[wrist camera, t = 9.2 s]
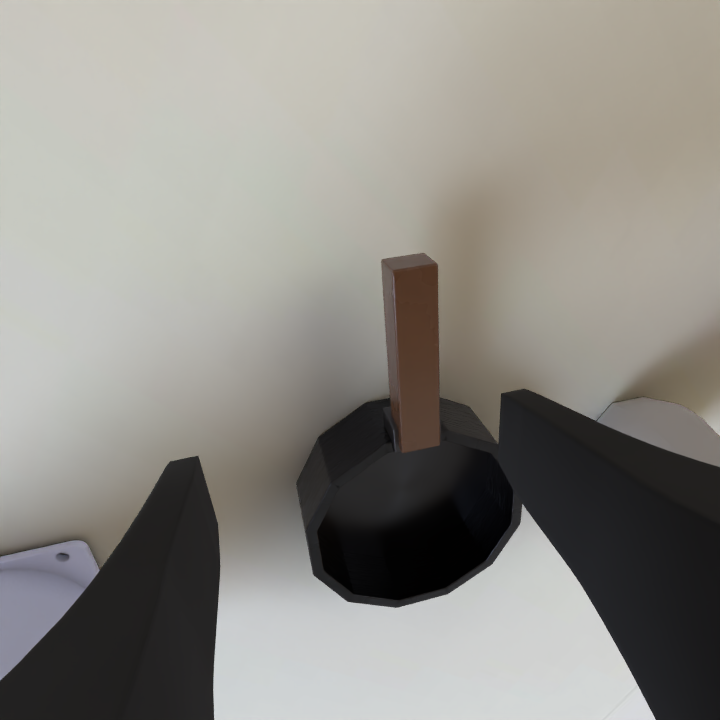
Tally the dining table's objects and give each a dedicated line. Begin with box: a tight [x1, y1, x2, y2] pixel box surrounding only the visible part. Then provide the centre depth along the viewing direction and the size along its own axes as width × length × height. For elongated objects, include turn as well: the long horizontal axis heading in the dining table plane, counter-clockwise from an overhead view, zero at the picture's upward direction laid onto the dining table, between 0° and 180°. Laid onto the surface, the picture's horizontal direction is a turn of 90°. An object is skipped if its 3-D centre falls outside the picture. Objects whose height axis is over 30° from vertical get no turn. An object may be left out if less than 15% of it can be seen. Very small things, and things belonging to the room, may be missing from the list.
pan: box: [296, 253, 522, 608], centre depth 23 cm, size 17×10×4 cm, turn 5°
